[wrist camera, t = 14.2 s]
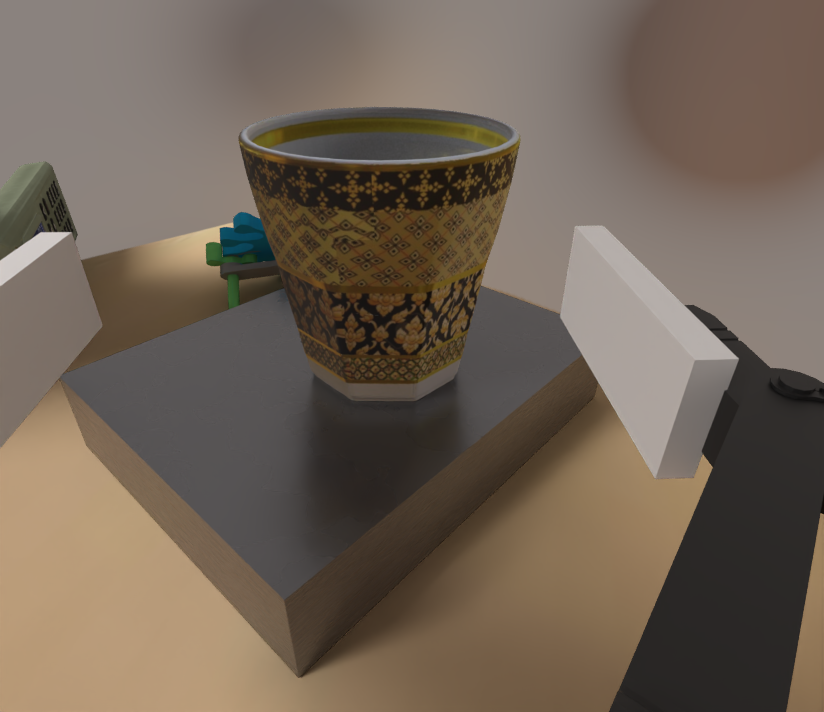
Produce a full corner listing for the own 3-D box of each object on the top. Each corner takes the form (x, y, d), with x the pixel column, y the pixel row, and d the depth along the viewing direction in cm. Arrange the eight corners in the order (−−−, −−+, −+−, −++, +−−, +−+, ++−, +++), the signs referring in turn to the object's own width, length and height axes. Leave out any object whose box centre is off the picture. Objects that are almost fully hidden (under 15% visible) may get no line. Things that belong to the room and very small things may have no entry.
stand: (86, 445, 26) (58, 375, 24) (382, 303, 39) (381, 249, 37) (298, 677, 17) (284, 600, 15) (594, 396, 30) (609, 332, 28)
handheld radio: (85, 236, 50) (36, 389, 30) (44, 242, 49) (-34, 404, 29) (56, 159, 46) (-20, 277, 27) (11, 164, 45) (-103, 290, 26)
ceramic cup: (540, 362, 25) (576, 130, 20) (376, 470, 20) (366, 181, 14) (357, 276, 33) (348, 92, 28) (200, 335, 27) (150, 115, 22)
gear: (375, 248, 43) (351, 183, 34) (382, 321, 42) (360, 275, 32) (237, 267, 44) (174, 208, 34) (240, 339, 43) (175, 299, 33)
